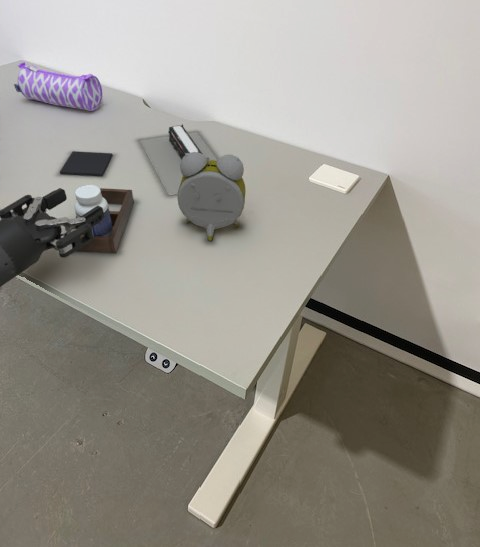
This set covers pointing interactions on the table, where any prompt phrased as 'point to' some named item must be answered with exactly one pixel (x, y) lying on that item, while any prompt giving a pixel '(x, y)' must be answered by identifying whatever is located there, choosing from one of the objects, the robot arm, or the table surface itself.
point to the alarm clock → (211, 191)
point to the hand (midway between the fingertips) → (82, 201)
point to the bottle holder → (117, 221)
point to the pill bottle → (88, 200)
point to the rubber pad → (86, 163)
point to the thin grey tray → (173, 154)
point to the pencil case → (59, 88)
